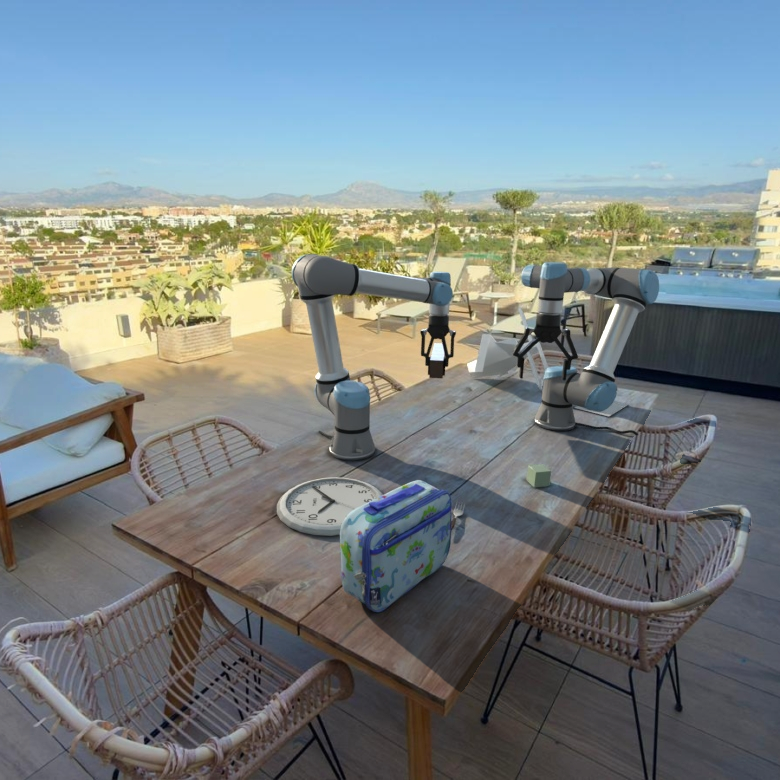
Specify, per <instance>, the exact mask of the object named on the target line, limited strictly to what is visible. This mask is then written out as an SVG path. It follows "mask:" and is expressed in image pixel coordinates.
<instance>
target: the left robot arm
mask: <svg viewBox="0 0 780 780" xmlns="http://www.w3.org/2000/svg"><path fill="white" fill-rule="evenodd" d="M290 272H291V273H290V274H291V279H292V281H293V283H294V285H295V286H296V287H297V290H298V294H299V300H300V301H302V303H304V304H305V305H306V311H307V316H308V321H309V327H310V331H311V338H312V342H313V347H314V353H315V357H316V362H317V363H316V364H317V368H318V372H317V373H316V375H315V380H316V383H315V385H314V396H315V397H316V400H317V401H318V403H319V404H320V405H321V406H322V407H324V408H326V409H327V410H328V411H330V412H331V413H332V414H333V416H334V432H333V434H332V435H331V434H327V433H324V432H322V431H321V430H318V433H319V434H320V435H322V436H324V437H327V438H330V444H329V454H330V455H331V457H333V458H335V459H338V460H341V461H351V462H353V461H362V460H365V459H368V458H370V457H372V456H374V454H375V452H376V447H375V443H374V439H373V436H372V433H371V429H370V419H371V418H370V417H371V404H370V403H371V395H370V394H371V393H370V389H369V386H367V384H365V383H363V382H361V381H357V380H351V377H350V371H349V370H348V369H347V368H346V367H345V366H344V362H343V355H342V350H341V344H340V339H339V333H338V327H337V320H336V315H335V310H334V305H333V299H334V297H335V296H348V297H353V296H354V295H355V294H359V295H365V296H373V297H380V298H381V297H382V298H387V299H396V300H402V301H408V302H415V303H423V304H428V313H429V314H428V325H427V328H425V329H420V336H421V343H420V356H421V357H423V358H424V359H425V361H424V362H425V364H424V365H425V366H426V367H427V376H429V373H430V358H431V356H430V353H431V352H432V349H433V345H434V341H435V340H441V343H442V344H443V349H444V353H445V357H444V360H443V377H444V376H446V368H448V367H449V364H450V363H449V362H450V361H449V359H452V358H454V357H455V355H454V354H455V353H454V352H455V337H456V334H457V331H456V330H452V329H451V328H450V327H449V326H450V315H449V314H450V305H451V304H450V303H451V301H452V300H453V296H454V291H453V288H452V283H451V282H452V280H451V279H452V278H451V273H450V272H448V271H432V272H430V274H429V277H425V278H424V277H423V278H417V277H411V276H405V275H399V274H393V273H386V272H381V271H376V270H369V269H365V268H364V269H363V268H359V266H358V265H357V264H355V263H349V262H345V261H342V260H340V259H336V258H333V257H330V256H329V255H328V256H327V255H322V254H320V255H319V254H316V253H307V254H303V255H301V256H298V258H297V259H295V261H294V263H293V265H292V267H291V271H290ZM427 333H428V335H429V336H430V341H429V343H428V347H427V350H426V335H427ZM448 334H449V336H450V351H449V350H448V345H447V341H446V336H447V335H448ZM425 350H426V352H425ZM449 352H450V353H449Z"/></svg>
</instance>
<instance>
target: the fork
mask: <svg viewBox="0 0 780 780" xmlns="http://www.w3.org/2000/svg"><path fill="white" fill-rule="evenodd" d="M458 501H459V500H457V501H456V504H455V507H454V509H453V514H452V515H454V517H453V519H451V531H452V530H453V529H454V527H455V525H456V520H457V517H461V516H463V514H464V511H465V505H466V502H463V501H459V502H458ZM460 504H461V505H460Z"/></svg>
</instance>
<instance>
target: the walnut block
mask: <svg viewBox="0 0 780 780" xmlns="http://www.w3.org/2000/svg"><path fill="white" fill-rule="evenodd" d="M430 357H431V358H430V373H429V375H428V378H429V379H444V378H443V377H444V376H443V360H444V357H445V353H444V349H443V344H442V342H440V343H439V342H433V346H432V349H431V355H430Z"/></svg>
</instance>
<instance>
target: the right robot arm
mask: <svg viewBox="0 0 780 780" xmlns="http://www.w3.org/2000/svg"><path fill="white" fill-rule="evenodd" d="M520 280H521V281H520V282H521V283H522V285H523V286H524V287H527V288H531V289H538V290H539V291H538V298H537V309H536V311H537V313H536V316H535V325H534V328H532V327H529V326H528V327H529V328H528V327H526V328H524V332H523V334H522V335H521V338H520V339H519V340H518V341H517V342H518V344H517V345H516V347H515V349H514V350H513V352H512V354H513V356H516V357H518V359H517V365H516V367H517V368H519V374H518V375H519V378H520V379H523V378H524V369H525V368H524V367H525V360H524V357H523V356H524V355H525V354H526V353H527V352H528V351H529V350H530V349H531V348H532V347H533V346H534V345H535V344H537V343H538V342H540V343H542V344H544V343H545V344H546V343H548V344H552V343H555V344H556V346H557V347H558V348H559V349H560V351H561V353H562V354H563V355H564V356H565V358H563V365H557V366H556V365H555V366H550V367H549V366H548V367H549V368H547V369H546V371H545V370H544V375H543V378H542V379H543V381H542V382H543V383H542V394H541V402H540V405H539V407H538V410H537V411H536V413H535V415H534V424H535V425H536V426H537V427H539V428H542V429H544V430H549V431H556V432H567V431H572V430H574V429H575V428H576V426H579V427H583V428H588V429H592V430H609V431H611V432H614V433H616V434H620V435H621V434H622V435H623V434H634V435H635V436H639V433H638V432H637V431H635V430H633V429H628V430H618V429H615V428H612V427H610V426H594V425H590V424H586V423H581V422H577V421H576V418H575V417H576V416H575V413H574V407H573V406H575V407H576V406H580V407H583V408H586V409H588V410H593V411H597V412H601V411H604V410H606V409H608V408H609V407H610V406H611V405H612V403H613V402H615V400H616V398H617V395H618V385H617V384H616V378H615V375H614V372H615V370H616V368H617V365H618V362H619V360H620V358H621V355H622V354H623V351H624V348H625V346H626V344H627V342H628V338H629V337H630V334H631V331H632V330H633V327H634V325H635V322H636V320H637V317H638V314H639V313H641V312H644V311H645V310H646V306H647V305H652V304H653V303H654V302H655V301H656V300H657V299H658V296H659V292H660V279H659V276H658V275H657V273H656V272H655V271H654V270H650V269H645V268H630V267H619V266H618V267H615V266H614V267H613V266H612V267H591V268H588V269H586V268H583V267H568V265H567V263H565V262H558V261H557V262H556V261H555V262H553V261H550V262H549V261H548V262H546V261H545V262H544V263H543V264H542V265H540V264H539V265H538V264H528V265H526V266H525V267H524V268H523V269H522V271H521V275H520ZM579 292H583V293H585V294H587V295H594V296H599V297H602V298H606V299H611V303H612V304H613V307H612V310H611V312H610V313H609V314H610V315H609V317H608V319H607V321H606V324H605V327H604V328H603V332H602V334H601V337H600V339H599V341H598V344H597V345H596V346H597V347H596V348H595V351H594V353H593V356H592V358H591V360H590V363H589V365H587V366H584V367H583V369H582V370H581V373H578V368H577V367H576V366H572V361H573V360H577V359H578V358H579V355H578V352H577V349H576V348H575V344H574V342H573V340H572V338H571V330H570V329H569V328H567V327H566V328H564V329H561V325H562V324H561V323H562V313H563V306H564V297H565V294H566V293H567V294H568V293H579ZM532 334H534V335H535V336H534V337H532V341H531V342H530V343H529V344H528V345H527V346H526V347H524V348H523V349H522V350H521V351H520V349H521V347H522V346H523V344H524V343H526V341H527V340H528V336H529V335H531V336H532ZM561 335H562V336H563V337H565V341H566V343H567V345H568V348H569V350H570V353H571V354H570V353H569V352H568V350H567V349H566V347H565V346H564V345H563V344H562V342H561V341H560V340H559V337H560V336H561ZM519 351H520V352H519ZM518 352H519V353H518Z"/></svg>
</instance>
